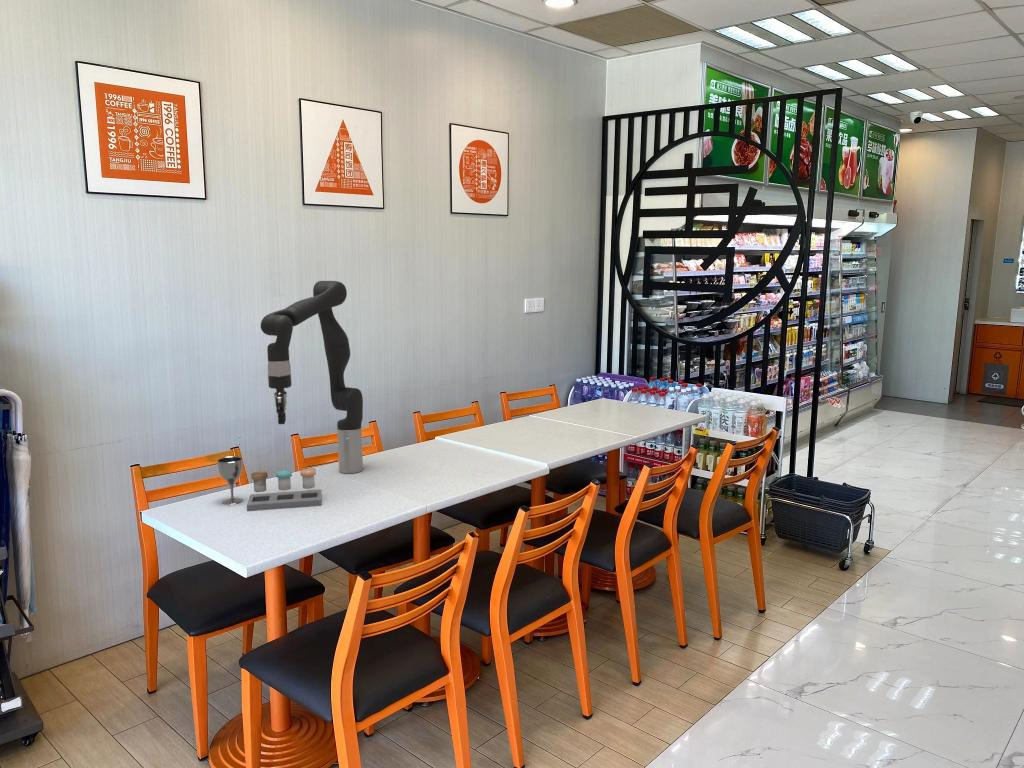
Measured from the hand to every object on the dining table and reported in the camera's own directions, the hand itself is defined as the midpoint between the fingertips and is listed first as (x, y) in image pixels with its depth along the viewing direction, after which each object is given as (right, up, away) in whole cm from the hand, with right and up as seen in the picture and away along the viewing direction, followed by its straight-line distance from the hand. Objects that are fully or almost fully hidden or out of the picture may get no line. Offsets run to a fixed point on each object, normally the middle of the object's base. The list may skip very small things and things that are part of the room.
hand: (282, 422), depth 265 cm
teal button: (+1, -23, -1) cm, 23 cm away
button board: (+1, -28, 0) cm, 28 cm away
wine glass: (-18, -28, +2) cm, 33 cm away
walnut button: (-7, -23, -3) cm, 24 cm away
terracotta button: (+9, -22, +1) cm, 24 cm away
